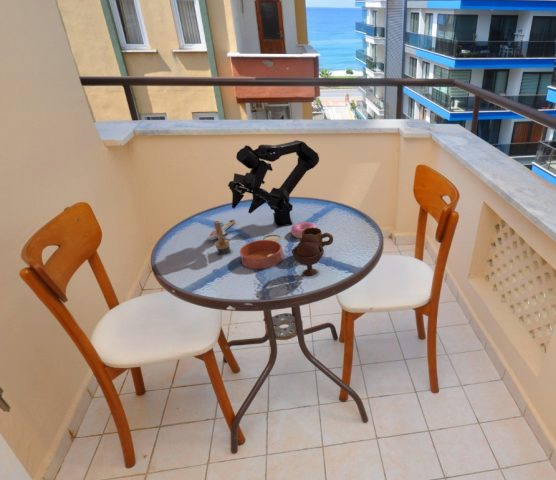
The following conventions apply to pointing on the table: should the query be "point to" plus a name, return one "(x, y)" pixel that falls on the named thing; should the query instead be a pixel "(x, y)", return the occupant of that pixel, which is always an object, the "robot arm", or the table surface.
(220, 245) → the dish brush
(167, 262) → the table surface
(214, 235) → the paintbrush
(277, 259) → the terracotta bowl
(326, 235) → the mug
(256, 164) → the robot arm
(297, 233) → the doughnut
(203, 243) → the table surface
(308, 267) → the ice cream bowl
